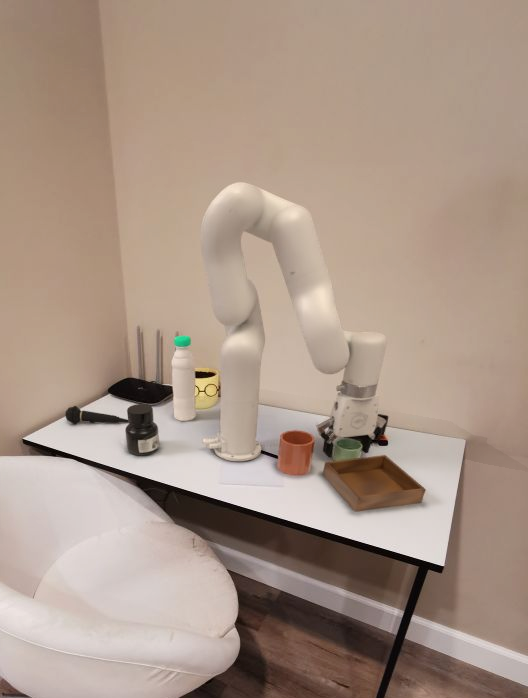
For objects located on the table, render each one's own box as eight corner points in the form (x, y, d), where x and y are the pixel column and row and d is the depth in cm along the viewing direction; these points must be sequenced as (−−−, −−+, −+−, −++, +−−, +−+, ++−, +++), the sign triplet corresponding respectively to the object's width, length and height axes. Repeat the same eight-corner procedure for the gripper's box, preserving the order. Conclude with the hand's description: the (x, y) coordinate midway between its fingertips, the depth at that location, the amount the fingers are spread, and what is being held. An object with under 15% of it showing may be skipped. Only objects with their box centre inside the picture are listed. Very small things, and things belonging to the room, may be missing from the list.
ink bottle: (146, 460, 115) (142, 418, 108) (120, 452, 119) (115, 412, 112) (166, 444, 122) (163, 405, 115) (140, 438, 126) (137, 399, 119)
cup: (284, 478, 104) (287, 447, 99) (272, 462, 111) (275, 432, 106) (315, 474, 105) (320, 443, 100) (302, 458, 111) (306, 428, 107)
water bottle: (172, 413, 140) (169, 334, 126) (194, 411, 140) (193, 332, 126) (174, 422, 134) (171, 340, 120) (197, 420, 134) (196, 339, 120)
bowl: (339, 467, 107) (342, 451, 104) (327, 455, 112) (330, 439, 110) (363, 464, 107) (367, 448, 105) (351, 452, 113) (354, 437, 110)
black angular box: (384, 434, 120) (390, 412, 117) (379, 445, 115) (384, 422, 112) (347, 427, 125) (351, 405, 121) (340, 437, 120) (344, 414, 117)
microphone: (129, 428, 138) (67, 422, 139) (130, 410, 137) (68, 404, 137) (126, 431, 133) (62, 424, 134) (128, 412, 132) (63, 405, 132)
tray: (354, 512, 91) (358, 498, 89) (322, 475, 104) (325, 462, 102) (421, 503, 93) (426, 489, 91) (381, 468, 106) (385, 454, 104)
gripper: (330, 397, 96) (319, 464, 105) (403, 390, 97) (385, 456, 107) (315, 386, 102) (306, 449, 111) (384, 379, 104) (369, 442, 113)
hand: (345, 452), depth 109 cm, fingers open, 9 cm apart
